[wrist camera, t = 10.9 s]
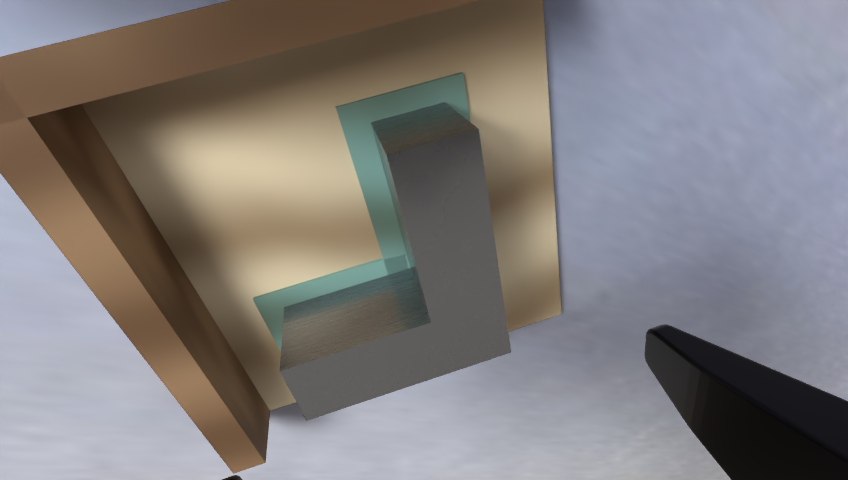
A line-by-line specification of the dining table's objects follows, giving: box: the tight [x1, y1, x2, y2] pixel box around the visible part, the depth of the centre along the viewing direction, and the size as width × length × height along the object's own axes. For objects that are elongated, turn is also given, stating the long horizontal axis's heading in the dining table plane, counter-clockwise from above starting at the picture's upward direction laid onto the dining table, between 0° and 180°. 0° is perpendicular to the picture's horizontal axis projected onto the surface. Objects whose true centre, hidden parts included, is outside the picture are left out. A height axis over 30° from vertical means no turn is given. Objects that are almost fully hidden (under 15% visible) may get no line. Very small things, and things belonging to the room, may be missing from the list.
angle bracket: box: [279, 102, 511, 420], centre depth 18 cm, size 10×9×4 cm
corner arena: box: [0, 0, 561, 474], centre depth 18 cm, size 18×18×4 cm
